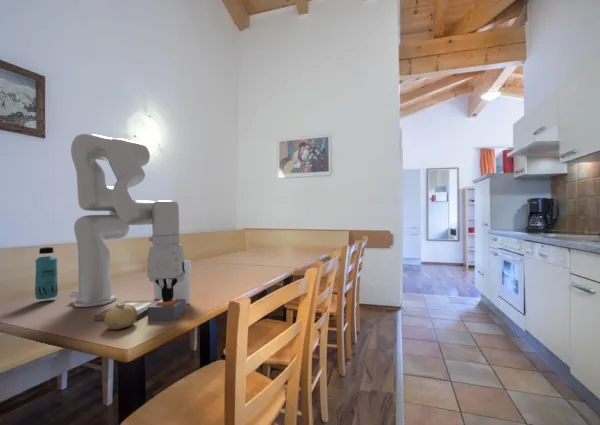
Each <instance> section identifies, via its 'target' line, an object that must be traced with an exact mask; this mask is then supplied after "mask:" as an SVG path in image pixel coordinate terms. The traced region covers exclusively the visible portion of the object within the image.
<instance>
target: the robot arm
mask: <svg viewBox="0 0 600 425" xmlns="http://www.w3.org/2000/svg"><path fill="white" fill-rule="evenodd" d="M70 146H71V147H70V154H71V159H72V162H73V165H74V168H75V173H76V187H77V190H76V191H77V200H78V201H77V202H78V205H79V208H80V209H82V210H83V211H87V212H108V213H109V214H87V215H83V216H80V217H79V218H77V219H76V220H75V222H74V225H73V226H74V227H73V231H74V235H75V240H76V245H77V258H78V260H77V261H78V262H77V263H78V264H77V265H78V290H72V292H71V293H70V294H69V297H70V298H75V300H74V302H73V306H74V307H77V308H90V307H96V306H103V305H107V304H110V303H112V302H115V300H116V299H117V296H116V295H115V294H112V293H111V292H112V290H111V288H112V286H111V282H112V280H111V253H110V249H109V248H108V246H107V245H106V244H105V243H104V241H111V240H113V241H114V240H121V239H123V238H125V237H127V236H128V234H129V231H130V226H141V225H142V226H143V225H144V226H145V225H147V226H149V225H151V226H152V236H150V237H149V238H148V242H151V243H152V245H150V246H149V249H148V256H147V264H146V265H147V266H146V275H147V278H148V280H149V282H150V283H151V282H152V283H154V282H156V283H157V284H158V285H159V287H160V288H161V291H162V298H163V302H165V301H166V302H168V301H170V300H172V299H173V296H174V292H173V286H175V284H176V283H177V282H180V281H183V280H185V276H184V274H185V260H186V259H185V253H184V249H183V246H182V244H180V210H179V209H180V208H179V204H178V202H177V201H175V200H156V201H155V200H154V201H153V200H133V199H132V197H131V194H130V193H129V191H128V189H130V188H132V187H133V188H134V187H135V186H137V185H139V184H140V183H142V182H143V181H144V180H145V177H146V173H145V171H144V169H143V167H144V166H147V164H148V163H149V161H150V157H151V155H150V151H149V149H148V147H147V146H146V145H145V144H143V143H141V142H137V141H133V140H128V139H124V138H119V137H118V138H117V137H114V138H113V137H107V136H103V135H99V134H94V133H81V134H77V135H76V136H75V137H74V138H73V140H72V143H71V145H70ZM97 160H101V161H107V163H108V165H109V166H110V168H111V171H112V172H113V175H114V176H115V179H116V182H115V183H114V185H113V186H112V185H111V186H110V185H107V183H106V174H105V171H104V170H103V168H102V166H101V165H100V163H98V162H97ZM167 279H168V283H167Z"/></svg>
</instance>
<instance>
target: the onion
mask: <svg viewBox="0 0 600 425" xmlns="http://www.w3.org/2000/svg"><path fill="white" fill-rule="evenodd" d="M121 303H122V302H121ZM110 308H111V307H110ZM108 309H109V308H108ZM136 318H137V310H136V308H135V307H134V306H132V305H130V304H127V303H122V304H120V303H116V304H115V305H114V306H112V308H111V309H109V310H108V312H107V313H106V315H105V319H104V320H103V321H104V324H105V326H106V327H107V328H108V329H109V330H120V329H125V328H128V327H131V326H132V325H134V324H135V322H136V321H137V320H136Z"/></svg>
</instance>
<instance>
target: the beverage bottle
mask: <svg viewBox="0 0 600 425" xmlns="http://www.w3.org/2000/svg"><path fill="white" fill-rule="evenodd" d="M53 253H54V247H51V246H50V247H49V246H46V247H45V246H44V247H40V248H39V255H43V256H40V257H39V256H38V258H36V259H35V260H34V261H35V283H34V285H35V286H34V289H35V290H34V294H35V295H34V296H35V299H36V300H49V299H53V298H56V297H58V294H59V292H58V291H59V289H58V279H59V278H58V258H57V257H56V256H55V255H47V256H44V255H45V254H53Z"/></svg>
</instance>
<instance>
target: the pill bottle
mask: <svg viewBox="0 0 600 425" xmlns="http://www.w3.org/2000/svg"><path fill="white" fill-rule="evenodd" d="M167 283H168V279H167ZM153 296H154V300H161V299H163V298H162V291H161V288H160V287H159V285H158V284H157V283H156V282H153Z"/></svg>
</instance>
